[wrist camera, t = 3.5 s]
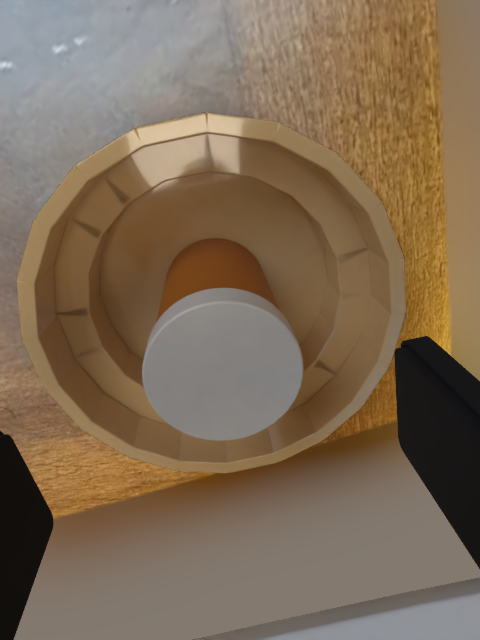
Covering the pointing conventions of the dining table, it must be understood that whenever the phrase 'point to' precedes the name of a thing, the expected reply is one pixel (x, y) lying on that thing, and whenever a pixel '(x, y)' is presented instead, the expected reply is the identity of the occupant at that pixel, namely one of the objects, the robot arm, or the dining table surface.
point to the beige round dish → (185, 229)
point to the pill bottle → (220, 346)
